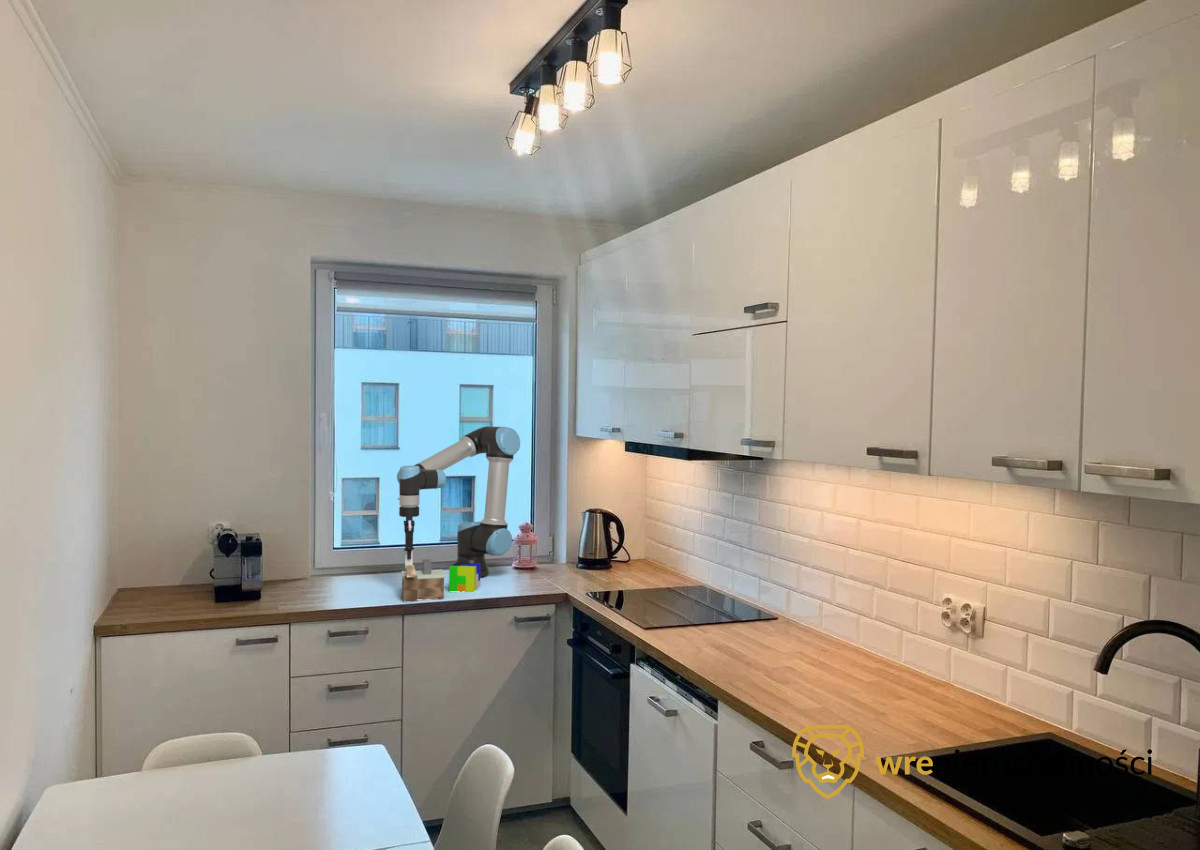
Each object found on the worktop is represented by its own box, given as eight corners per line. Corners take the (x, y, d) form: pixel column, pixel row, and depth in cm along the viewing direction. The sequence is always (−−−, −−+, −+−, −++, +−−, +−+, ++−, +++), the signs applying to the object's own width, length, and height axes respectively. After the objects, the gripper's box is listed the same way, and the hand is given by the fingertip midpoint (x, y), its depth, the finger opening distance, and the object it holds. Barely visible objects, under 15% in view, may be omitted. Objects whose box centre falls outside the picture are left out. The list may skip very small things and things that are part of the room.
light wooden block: (413, 572, 325) (413, 565, 325) (415, 576, 318) (415, 568, 317) (405, 573, 324) (405, 565, 324) (406, 577, 317) (406, 569, 317)
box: (441, 592, 335) (441, 569, 335) (444, 600, 322) (444, 575, 322) (402, 594, 331) (402, 570, 331) (403, 602, 318) (403, 577, 318)
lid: (442, 575, 335) (442, 558, 335) (444, 580, 325) (444, 562, 325) (401, 576, 331) (401, 559, 330) (402, 582, 321) (402, 564, 320)
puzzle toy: (480, 588, 345) (480, 563, 345) (474, 593, 335) (474, 567, 335) (455, 587, 346) (456, 562, 346) (449, 592, 336) (449, 567, 336)
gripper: (398, 504, 334) (398, 564, 335) (399, 508, 322) (399, 570, 322) (418, 503, 336) (417, 563, 337) (420, 507, 324) (419, 569, 324)
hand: (408, 567), depth 330 cm, fingers closed
